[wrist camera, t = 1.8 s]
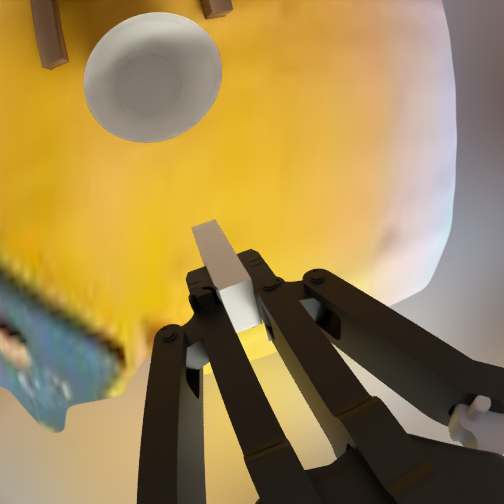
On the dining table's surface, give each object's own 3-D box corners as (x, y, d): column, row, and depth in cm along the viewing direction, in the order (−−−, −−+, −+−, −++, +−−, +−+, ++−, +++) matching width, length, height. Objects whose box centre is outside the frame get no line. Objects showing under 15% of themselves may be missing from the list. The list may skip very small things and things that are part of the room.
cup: (105, 46, 22) (85, 16, 12) (196, 42, 25) (228, 12, 15) (103, 133, 26) (82, 152, 16) (192, 126, 29) (221, 142, 19)
